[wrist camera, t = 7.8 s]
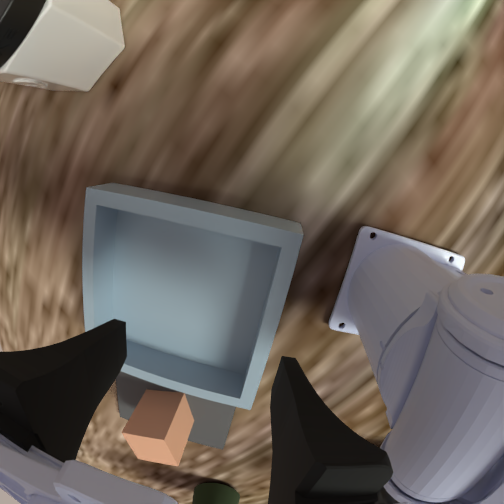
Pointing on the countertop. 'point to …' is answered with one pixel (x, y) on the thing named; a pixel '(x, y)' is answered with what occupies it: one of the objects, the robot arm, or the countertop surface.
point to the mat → (203, 411)
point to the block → (160, 427)
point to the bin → (187, 286)
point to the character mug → (215, 494)
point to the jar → (58, 42)
